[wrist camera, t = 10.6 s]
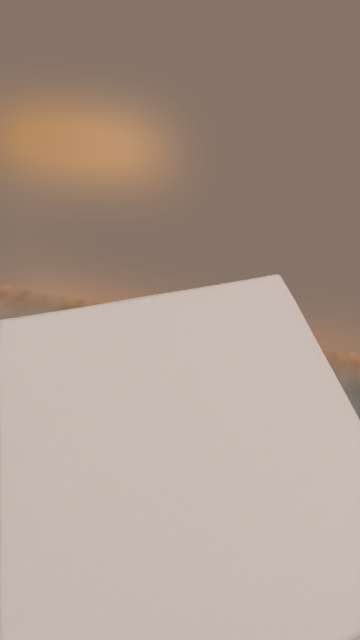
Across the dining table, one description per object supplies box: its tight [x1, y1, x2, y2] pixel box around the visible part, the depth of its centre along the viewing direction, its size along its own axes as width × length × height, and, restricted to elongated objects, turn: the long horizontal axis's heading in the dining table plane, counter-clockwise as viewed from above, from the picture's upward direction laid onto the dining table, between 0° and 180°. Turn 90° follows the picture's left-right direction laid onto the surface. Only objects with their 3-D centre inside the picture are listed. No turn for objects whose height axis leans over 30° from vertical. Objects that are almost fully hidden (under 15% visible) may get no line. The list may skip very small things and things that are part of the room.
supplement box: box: [0, 275, 360, 640], centre depth 14 cm, size 10×9×17 cm
